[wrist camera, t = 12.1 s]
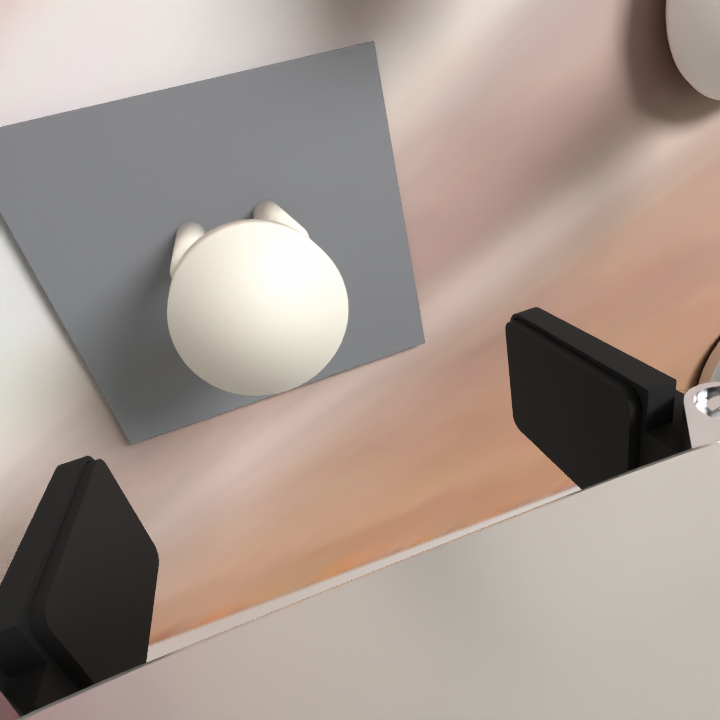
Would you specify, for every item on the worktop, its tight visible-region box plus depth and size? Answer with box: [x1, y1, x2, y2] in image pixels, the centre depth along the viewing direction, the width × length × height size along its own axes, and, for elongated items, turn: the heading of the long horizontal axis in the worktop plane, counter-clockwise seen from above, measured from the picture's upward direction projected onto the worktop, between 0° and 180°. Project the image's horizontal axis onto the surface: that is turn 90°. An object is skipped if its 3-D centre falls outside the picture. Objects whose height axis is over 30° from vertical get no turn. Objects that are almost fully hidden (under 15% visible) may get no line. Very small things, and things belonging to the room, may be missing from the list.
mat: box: [0, 41, 425, 445], centre depth 25 cm, size 18×16×1 cm
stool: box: [167, 200, 349, 396], centre depth 21 cm, size 6×6×8 cm
